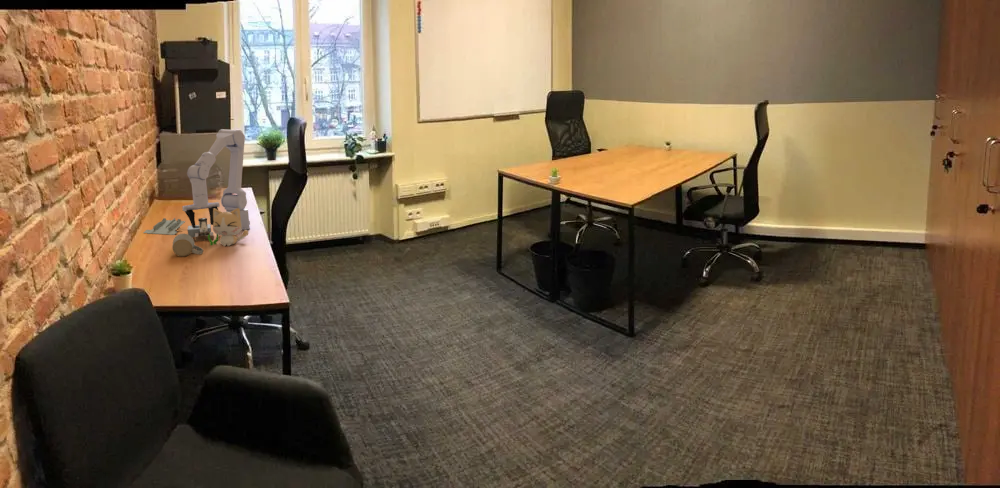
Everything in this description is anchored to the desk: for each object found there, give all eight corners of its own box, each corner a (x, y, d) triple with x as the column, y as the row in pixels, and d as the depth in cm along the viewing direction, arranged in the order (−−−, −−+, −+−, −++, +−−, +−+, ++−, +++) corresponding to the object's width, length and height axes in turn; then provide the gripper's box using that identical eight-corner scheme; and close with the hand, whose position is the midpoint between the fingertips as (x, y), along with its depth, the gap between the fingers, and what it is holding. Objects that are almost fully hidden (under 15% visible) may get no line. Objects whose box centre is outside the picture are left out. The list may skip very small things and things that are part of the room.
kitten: (204, 247, 281) (201, 211, 277) (212, 241, 290) (209, 206, 287) (243, 247, 282) (239, 210, 278) (249, 241, 292) (246, 206, 288)
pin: (208, 237, 297) (207, 217, 295) (208, 239, 294) (206, 219, 292) (200, 238, 296) (198, 218, 294) (200, 240, 293) (198, 219, 291)
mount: (213, 236, 299) (213, 231, 299) (213, 239, 293) (212, 235, 293) (195, 237, 297) (195, 233, 297) (195, 241, 291) (194, 236, 290)
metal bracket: (159, 215, 314) (189, 216, 312) (163, 226, 317) (193, 228, 314) (139, 231, 302) (171, 232, 299) (144, 242, 305) (174, 244, 302)
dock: (211, 231, 307) (210, 224, 306) (211, 235, 300) (210, 228, 299) (189, 233, 304) (188, 225, 303) (188, 237, 297) (187, 229, 296)
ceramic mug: (172, 258, 265) (171, 238, 263) (174, 253, 273) (172, 233, 271) (203, 256, 269) (201, 236, 267) (203, 251, 276) (201, 232, 275)
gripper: (214, 190, 298) (217, 222, 301) (178, 194, 289) (182, 226, 292) (220, 193, 293) (223, 224, 296) (184, 197, 283) (187, 229, 287)
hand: (203, 225), depth 294 cm, fingers open, 7 cm apart
